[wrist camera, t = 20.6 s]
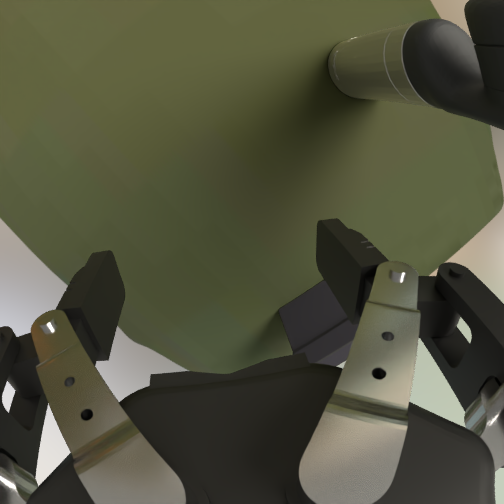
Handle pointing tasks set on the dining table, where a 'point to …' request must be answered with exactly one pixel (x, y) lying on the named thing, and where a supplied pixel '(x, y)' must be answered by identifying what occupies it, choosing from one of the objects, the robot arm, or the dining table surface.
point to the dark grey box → (318, 326)
